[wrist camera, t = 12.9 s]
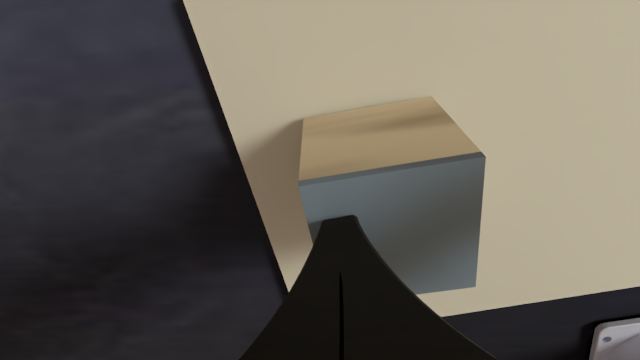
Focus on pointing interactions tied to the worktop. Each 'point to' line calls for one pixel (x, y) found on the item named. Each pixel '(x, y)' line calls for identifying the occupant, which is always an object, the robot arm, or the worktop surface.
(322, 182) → the cube
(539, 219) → the mat
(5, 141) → the worktop surface
